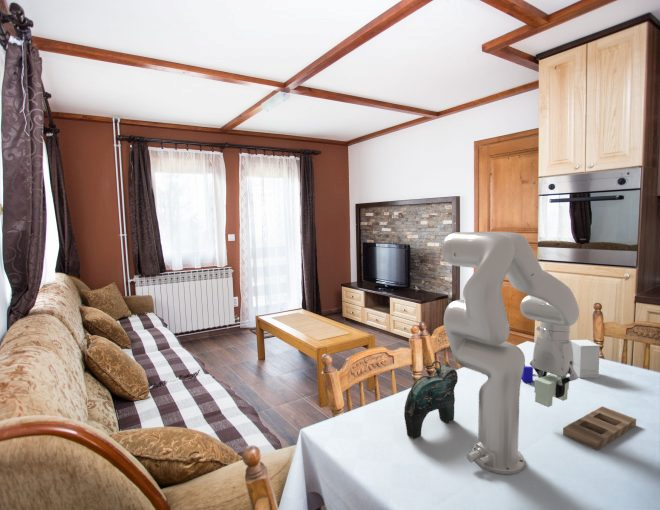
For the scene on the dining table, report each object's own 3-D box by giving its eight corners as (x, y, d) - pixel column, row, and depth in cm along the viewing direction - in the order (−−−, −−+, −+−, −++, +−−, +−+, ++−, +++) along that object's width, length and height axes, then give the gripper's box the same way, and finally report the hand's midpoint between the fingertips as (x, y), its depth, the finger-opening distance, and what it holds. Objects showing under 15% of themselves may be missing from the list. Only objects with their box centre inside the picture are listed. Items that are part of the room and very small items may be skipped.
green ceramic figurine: (446, 412, 124) (446, 352, 122) (462, 421, 119) (463, 358, 117) (400, 433, 114) (400, 368, 111) (417, 444, 108) (416, 375, 106)
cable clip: (510, 370, 156) (511, 355, 155) (522, 370, 155) (523, 356, 154) (519, 383, 144) (519, 367, 144) (532, 383, 143) (533, 368, 143)
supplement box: (599, 378, 146) (600, 345, 145) (579, 378, 146) (580, 346, 145) (586, 370, 153) (587, 339, 152) (567, 370, 153) (568, 339, 152)
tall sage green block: (547, 407, 113) (548, 384, 112) (534, 402, 116) (535, 379, 115) (568, 398, 118) (569, 376, 118) (554, 393, 122) (556, 372, 121)
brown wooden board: (597, 450, 103) (597, 443, 103) (562, 434, 111) (563, 427, 110) (635, 425, 114) (636, 419, 114) (601, 412, 122) (602, 406, 121)
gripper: (520, 329, 121) (518, 386, 122) (577, 344, 106) (573, 408, 108) (535, 326, 124) (532, 381, 126) (591, 339, 110) (587, 401, 112)
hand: (551, 392), depth 117 cm, fingers closed on tall sage green block, 4 cm apart
